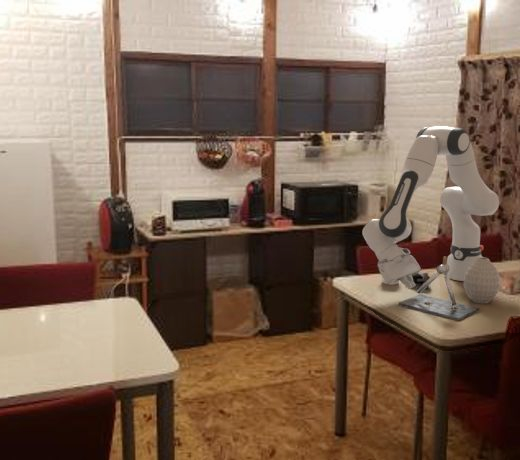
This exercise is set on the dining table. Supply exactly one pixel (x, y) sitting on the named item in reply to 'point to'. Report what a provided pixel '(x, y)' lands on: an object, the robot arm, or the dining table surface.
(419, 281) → the caster wheel
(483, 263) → the vase
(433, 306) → the blue and grey frame
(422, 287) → the leg
